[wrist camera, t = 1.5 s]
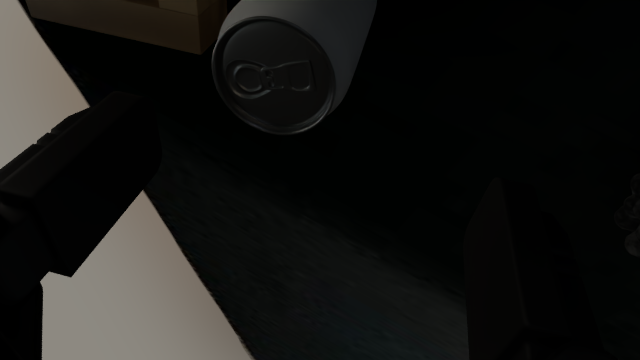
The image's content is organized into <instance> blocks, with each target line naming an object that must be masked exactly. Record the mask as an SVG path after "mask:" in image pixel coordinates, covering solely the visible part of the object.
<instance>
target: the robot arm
mask: <svg viewBox="0 0 640 360" xmlns="http://www.w3.org/2000/svg"><path fill="white" fill-rule="evenodd" d="M161 158H162V148H161V143H160V137H159V132H158V126H157V121H156V115H155V110H154V105H153V103H152V101H151V100H150V99H149V98H146V97H142V96H138V95H133V94H129V93H124V92H120V91H114V92H112V93H111V94H109V95H108V96H107V97H106V98H104V99H103V100H102V101H101V102H99V103H98V104H97V105H96V106H94V107H89V108H87V109H85V110H82V111H80V112H78V113H75V114H73V115H70V116H68V117H67V118H65V119H64V120H63V121H62V122H60V123H59V124H58V125H57V126H55V127H54V128H53V129H51V133H46V134H45V135H44V136H43V137H41V138H40V139H39V140H37V144H32V145H31V146H30V147H28V148H27V149H26V150H24V151H23V152H22V153H21V154H19V155H18V156H17V157H16V158H14V159H13V160H12V161H11V162H9V163H8V164H7V165H5V166H4V167H3V168H1V169H0V360H42V315H43V287H42V285H41V283H40V281H41V280H42V279H43V277H44V276H45V275H46V274H47V273H48V272H53V273H57V274H60V275H64V276H68V277H72V276H73V274H74V273H75V272H76V271H77V270H78V268H79V267H80V266H81V265H82V263H83V262H84V261H85V260H86V258H87V257H88V256H89V254H91V252H92V251H93V250H94V249H95V247H96V246H97V245H98V244H99V243H100V241H101V240H102V239H103V238H104V236H105V235H106V234H107V233H108V232H109V230H110V229H111V228H112V227H113V225H114V224H115V223H116V222H117V221H118V219H119V218H120V217H121V216H122V214H123V213H124V212H125V211H126V210H127V208H128V207H129V206H130V204H131V203H132V202H133V201H134V200H135V198H136V197H137V196H138V195H139V194H140V192H141V191H142V190H143V189H144V187H145V186H146V185H147V184H148V183H149V181H150V180H151V179H152V178H153V176H154V175H155V174H156V172H157V171H158V168H159V166H160V163H161ZM463 255H464V273H465V290H466V307H467V324H468V342H469V359H470V360H618V359H617V358H616V357H615V356H613V355H612V354H610V353H609V352H607V351H605V350H604V347H603V344H602V341H601V338H600V335H599V332H598V328H597V325H596V322H595V319H594V316H593V313H592V310H591V306H590V303H589V300H588V297H587V294H586V291H585V287H584V284H583V281H582V278H581V277H579V273H580V272H579V269H578V265H577V262H576V259H573V257H574V253H573V250H572V246H571V243H570V240H569V237H568V234H567V233H566V231H565V230H564V229H563V227H562V226H561V225H560V224H559V222H558V221H557V220H556V218H555V217H554V216H553V215H552V214H551V213H547V212H542V211H540V207H539V203H538V199H537V196H536V192H535V189H534V187H533V186H532V185H529V184H525V183H520V182H516V181H511V180H507V179H502V178H498V177H496V178H494V179H493V180H492V181H491V183H490V184H489V186H488V188H487V190H486V192H485V194H484V196H483V198H482V199H481V201H480V203H479V205H478V207H477V209H476V211H475V213H474V214H473V216H472V218H471V220H470V222H469V224H468V226H467V229H466V233H465V237H464V243H463Z"/></svg>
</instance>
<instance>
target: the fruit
mask: <svg viewBox="0 0 640 360" xmlns="http://www.w3.org/2000/svg"><path fill="white" fill-rule="evenodd" d="M630 186H631V190H632V195H631V196H629V197H627V198H626V199H625V200H624V202H623V206H621V207H620V208H619V209H618V210H617V211H616V212H615V214H614V220H615V223H616V224H617V225H618V226H619V227H620V228H621V229H625V230H629V231H631V232H633V233H631V234H630V235H628V236H626V238H625V243H624V244H625V248H626V250H627V251H628V252H629V253H630V254H632V255H634V256H637V257H639V258H640V173H638V174H636V175H634V176H633V177H632V179H631V180H630Z"/></svg>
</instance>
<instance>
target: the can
mask: <svg viewBox="0 0 640 360" xmlns="http://www.w3.org/2000/svg"><path fill="white" fill-rule="evenodd" d="M376 5H377V0H241V1H240V2H239V3H238V4H237V5H236V6H235V7H234V8H233V9H232V11H231V12H230V13H229V14H228V16H227V17H226V19H225V21H224V22H223V24H222V27H221V29H220V32H219V36H218V41H217V43H216V45H215V48H214V51H213V56H212V74H213V79H214V82H215V85H216V88H217V90H218V92H219V94H220V96H221V98H222V99H223V101H224V102H225V104H226V105H227V106H228V108H229V109H230V110H231V111H232V112H233V113H234V114H235V115H236V116H237V117H239V118H240V119H241V120H242V121H244V122H245V123H247V124H248V125H250V126H252V127H254V128H256V129H258V130H261V131H264V132H267V133H271V134H276V135H295V134H300V133H303V132H306V131H308V130H311V129H312V128H314V127H316V126H317V125H318V124H320V123H321V122H322V121H323V120H324V119H325V118H326V116H327V115H329V114H330V113H331V112H332V111H333V110H335V109H336V107H337V106H338V105H339V104H340V103H341V101H342V100H343V98H344V96H345V94H346V93H347V90H348V88H349V86H350V83H351V80H352V78H353V75H354V72H355V69H356V67H357V64H358V61H359V58H360V55H361V52H362V49H363V47H364V44H365V41H366V38H367V35H368V32H369V29H370V26H371V23H372V20H373V17H374V14H375V10H376Z"/></svg>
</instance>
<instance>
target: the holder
mask: <svg viewBox="0 0 640 360" xmlns="http://www.w3.org/2000/svg"><path fill="white" fill-rule="evenodd" d="M26 2H27V5H28V8H29V11H30V14H31V16H32V17H34V18H39V19H43V20H48V21H52V22H57V23H61V24H66V25H70V26H74V27H79V28H83V29H88V30H92V31H97V32H101V33H106V34H110V35H115V36H119V37H124V38H128V39H133V40H137V41H142V42H146V43H151V44H155V45H160V46H164V47H169V48H173V49H178V50H182V51H186V52H191V53H195V54H200V55H201V54H202V53H203V52H204V51H205V50H206V49H207V48H208V47H209V46H210V45H211V44H212V43H213V42H214V41H215V40H216V39H217V38H218V36H219V32H220V29H221V27H222V24H223V22H224V21H225V19H226V17H227V0H26Z"/></svg>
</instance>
